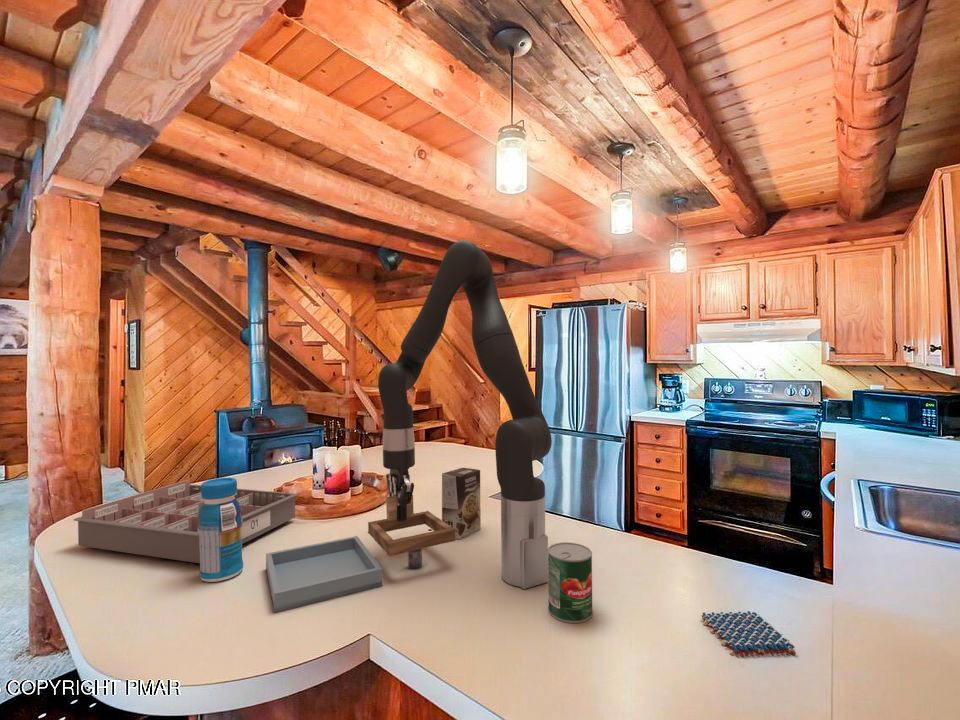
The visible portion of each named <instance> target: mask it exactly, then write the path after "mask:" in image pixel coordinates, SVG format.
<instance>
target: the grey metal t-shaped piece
mask: <svg viewBox="0 0 960 720" xmlns="http://www.w3.org/2000/svg"><path fill="white" fill-rule="evenodd" d="M407 553H408V554H407V557H408V560H407V561H408V562H407V563H408V569H410V570H419V569H422V567H423V548H422V549H417V550H413V551H409V552H407Z"/></svg>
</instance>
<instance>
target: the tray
mask: <svg viewBox="0 0 960 720" xmlns="http://www.w3.org/2000/svg"><path fill="white" fill-rule="evenodd" d="M265 572H266V576H267V581H268V586H269V591H270V596H271V601H272V602H271V603H272V606H273V612H274V614H276V613H281V612H285V611H288V610H292V609H296V608H300V607H304V606H309V605H313V604H316V603H320V602H324V601H328V600H332V599H336V598H341V597H343V596H347V595H352V594H355V593H360V592H364V591H368V590H372V589H375V588H380V587H383V568H382V567H381V566H380V564H379V563H378V561H377V560H376V559H375V558H374V556H373V554H371V552H370V550H368V548H367V547H366V545H365V544H364V543H363V541H362V540H361V538H360V537H359V536H358V535H356V536H355V535H354V536H350V537H345V538H340V539H333V540H329V541H323V542H320V543H314V544H309V545H304V546H299V547H293V548H287V549H283V550H275V551H272V552H267V553H265Z"/></svg>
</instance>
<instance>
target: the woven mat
mask: <svg viewBox="0 0 960 720" xmlns="http://www.w3.org/2000/svg"><path fill="white" fill-rule="evenodd" d="M700 618H701V619H702V620H699V622H700V623H702V624H703V625H704V626H705V627H706V630H708V631H709V632H710V633H711V634H712V635H714V634H715V635H714V637H715V638H716V639H718V641H719V642H720V644H721V645H722V646H723V647H725V648H724V649H725V651H728V654H729V655H731V656H741V657H744V656H759V655H760V656H766V655H767V656H769V655H789V654H790V655H796V650H795V646H794V644H792V643H791V642H790V639H787V638H786V637H784V636H783V633H780V632H779V631H777V630H778V629H776V628H774V626H772V624H771V623H769V622H768V621H766V620H765V618H763V617H762V616H761V615H760V614H757V612H753V611H752V612H751V611H750V610H747V612H742V611H738V612H734V613H733V612H732V611H729V612H728V613H727V612H723V611H721V612H720V613H718V612H717V613H715V612H714V611H712V612H711V613H706V612H702V614H701V617H700Z"/></svg>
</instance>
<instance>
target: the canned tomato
mask: <svg viewBox="0 0 960 720" xmlns="http://www.w3.org/2000/svg"><path fill="white" fill-rule="evenodd" d="M592 556H593V551H592V550H591V549H590V548H589V547H588V546H586V545H584V544H581V543H575V542H569V541H568V542H566V541H565V542H558V543H554V544H551V545H550V546H548V582H547V583H548V585H547V586H548V587H547V589H548V592H547V593H548V594H547V595H548V606H547V607H548V612H549V614H550V615H551V616H552V617H553V619H556V620H558V621H560V622H564V623H568V624H579V623H580V624H581V623H585V622H587V621H589V620H590V619H591V618H592V617H593V614H594V611H593V557H592Z"/></svg>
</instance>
